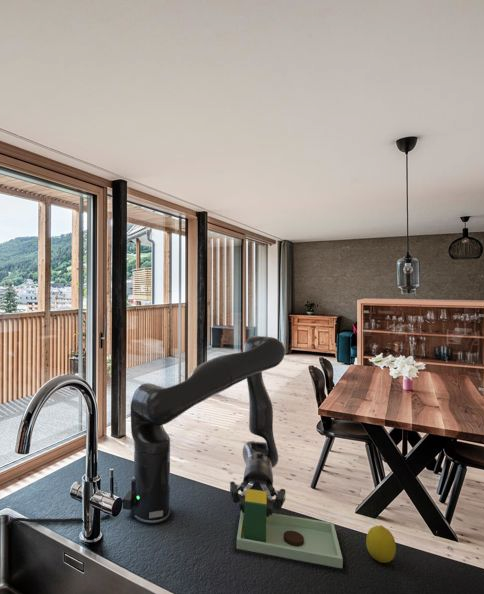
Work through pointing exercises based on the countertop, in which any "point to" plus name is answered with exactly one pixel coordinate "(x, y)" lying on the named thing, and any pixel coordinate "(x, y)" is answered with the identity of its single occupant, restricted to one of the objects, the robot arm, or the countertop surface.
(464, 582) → the countertop surface
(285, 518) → the tray
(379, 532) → the lemon
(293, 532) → the brown round disc
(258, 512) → the sponge
